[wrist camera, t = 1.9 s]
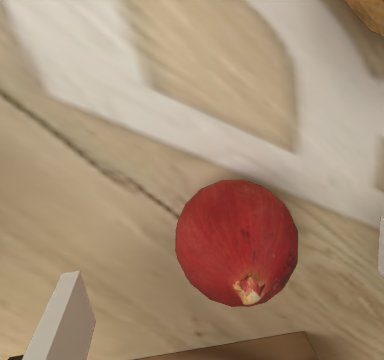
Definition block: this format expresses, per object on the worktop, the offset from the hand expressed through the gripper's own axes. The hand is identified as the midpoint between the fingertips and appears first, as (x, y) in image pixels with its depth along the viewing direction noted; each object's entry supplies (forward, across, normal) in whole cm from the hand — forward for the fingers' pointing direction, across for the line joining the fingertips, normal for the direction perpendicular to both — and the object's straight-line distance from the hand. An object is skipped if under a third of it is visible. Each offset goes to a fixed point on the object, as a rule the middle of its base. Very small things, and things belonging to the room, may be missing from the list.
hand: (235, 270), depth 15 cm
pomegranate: (+6, 0, 0) cm, 6 cm away
